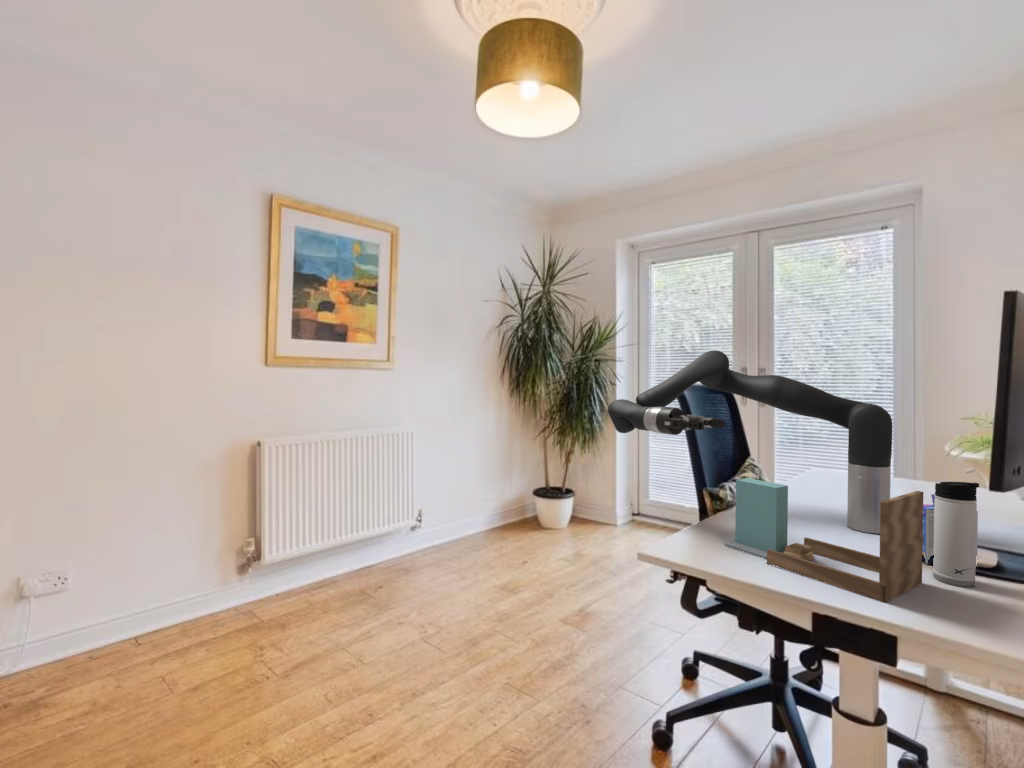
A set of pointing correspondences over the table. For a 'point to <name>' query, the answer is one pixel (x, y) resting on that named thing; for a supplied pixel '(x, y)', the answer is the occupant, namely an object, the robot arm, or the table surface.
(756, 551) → the slate mat
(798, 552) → the offcut stack
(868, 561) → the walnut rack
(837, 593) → the table surface
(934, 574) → the travel mug
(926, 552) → the ink cartridge box
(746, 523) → the teal panel
